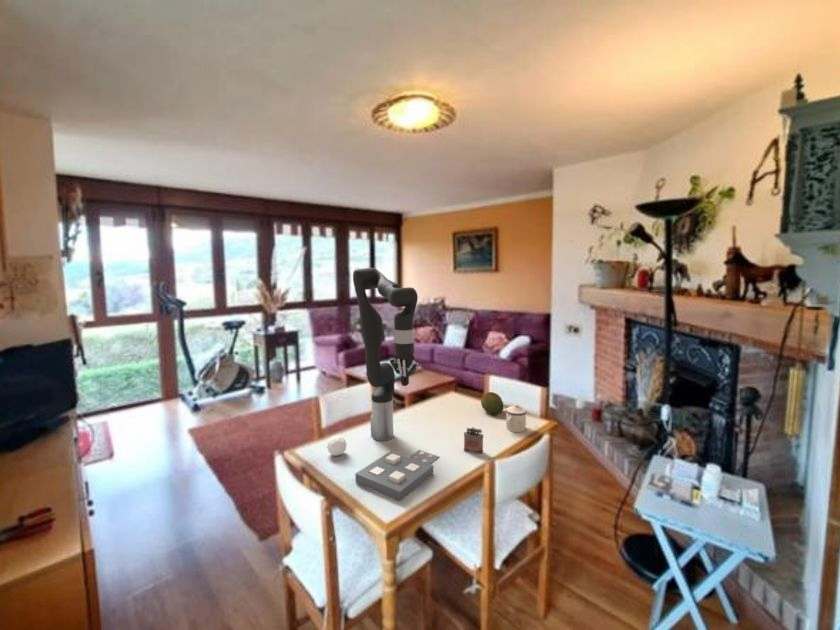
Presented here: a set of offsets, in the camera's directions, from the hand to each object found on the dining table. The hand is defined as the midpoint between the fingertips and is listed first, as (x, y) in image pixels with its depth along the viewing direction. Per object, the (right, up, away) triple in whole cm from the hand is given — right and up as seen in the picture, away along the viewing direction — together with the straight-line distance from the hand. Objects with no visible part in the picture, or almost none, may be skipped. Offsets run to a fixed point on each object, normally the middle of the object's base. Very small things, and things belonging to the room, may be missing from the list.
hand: (404, 385), depth 153 cm
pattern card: (+7, -30, +7) cm, 32 cm away
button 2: (+3, -31, -7) cm, 32 cm away
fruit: (+43, -23, +53) cm, 72 cm away
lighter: (+28, -29, +12) cm, 42 cm away
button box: (-3, -32, -8) cm, 33 cm away
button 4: (-2, -31, -14) cm, 34 cm away
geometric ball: (-28, -30, +11) cm, 43 cm away
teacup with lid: (+49, -26, +32) cm, 64 cm away
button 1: (-4, -29, -2) cm, 30 cm away
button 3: (-10, -32, -9) cm, 34 cm away
